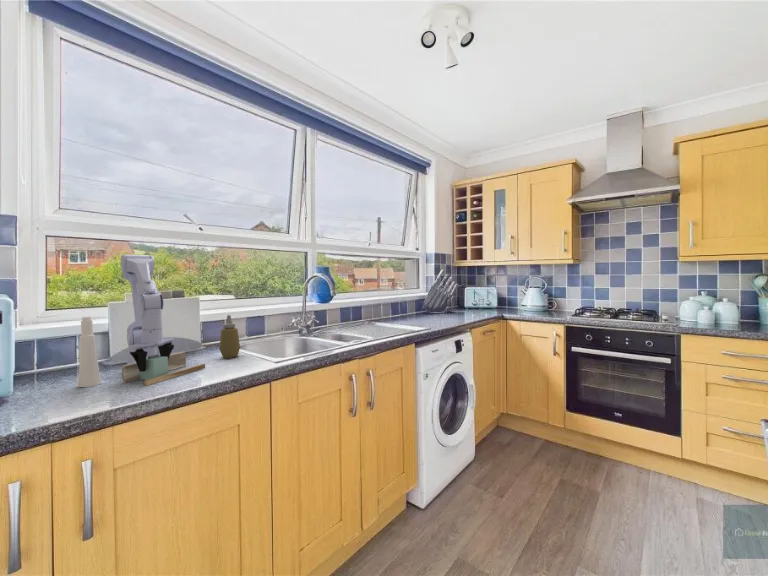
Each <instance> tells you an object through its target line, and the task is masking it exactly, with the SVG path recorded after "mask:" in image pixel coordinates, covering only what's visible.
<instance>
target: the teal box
mask: <svg viewBox="0 0 768 576" xmlns="http://www.w3.org/2000/svg"><path fill="white" fill-rule="evenodd" d="M168 373H169V371H168V357H164V356H160V354H158V353H157V354H156V355H152V356H148V357H146V371H144V372H141V371H140V379H139V380H143V379H145V380H148V379H151V378H154V377H158V376H161V375H165V374H168Z"/></svg>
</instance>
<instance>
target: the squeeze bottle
mask: <svg viewBox="0 0 768 576" xmlns="http://www.w3.org/2000/svg"><path fill="white" fill-rule="evenodd" d="M222 327H223V328H222V329H221V330H220V340H219V351H220V354H221V355H222V358H223V359H231V358H236V357H238V356H239V352H240V350H241V344H240V338H239V330H238V328H236V323H235V322H233V320H232V316H231V314H228V315H226V320H225V323H223V324H222Z"/></svg>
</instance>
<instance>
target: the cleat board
mask: <svg viewBox="0 0 768 576" xmlns="http://www.w3.org/2000/svg"><path fill="white" fill-rule="evenodd" d="M186 358H187V357H186V351H180V352H174V353H172V354H170V356H169V359H168V374H165V375H161V376H158V377H154V378H151V379H148V380H143V386H146V387H149V386H150V385H153V384H154V385H155V384H158V383H160V382H161V383H162V382H164V381H167V380H170V378H171V379H173V378H177V377H180V376H183V375H187V374H190V373H193V372H197V371H199V370H203V369H205V368H206V364H205V363H200V364H196V365H193V366H189V367H186V366H187V363H186V361H187V359H186ZM183 367H186V368H183ZM180 368H183V369H180ZM176 369H179V370H177V371H176ZM169 370H170V371H172V372H170V371H169ZM173 370H175V371H173ZM121 373H122V375H121V376H122V384H123V383H124V384H126V383H129V382H130V381H131V382H134V381H137V379H138V380H141V379H140V371H139V368H138V366H137V363H132V364H128V365H127V364H125V365H121ZM157 382H158V383H157Z"/></svg>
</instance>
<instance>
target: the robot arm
mask: <svg viewBox="0 0 768 576" xmlns="http://www.w3.org/2000/svg"><path fill="white" fill-rule="evenodd" d="M120 266H121V273H122V274H121V275H122V277H123V279H124V280H127V281H128V283H129V285H130V287H131V288H130V290H131V296H132V306H133V314H134V315H133V316H134V321H133V322H132V323H130V324H129V325H127V328H126V340H127V341H126V342H127V345H128V350H127V353H126V365H128V364H132V363H137V366H138V368H139V371H141V372H144V371H146V357H148V356H152V355H156V354H157V355H158V352H157V348H158V351H159V356H164V357H168V359H169V356H170V354H171V353H172V351H173V350H174V349H175V338H174V337H167V338H163V323H162V321H163V318H162V317H163V316H162V311H163V309H164V297H163V294H162V293H161V292H160V291H159V290H158V287H157V284H156V282H155V280H154V279H152V277H153V273H154V271H155V270H154V269H155V258H154V256H153V255H152V254H148V255H147V254H146V255H143V254H142V255H141V254H122V255H121V257H120Z"/></svg>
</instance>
